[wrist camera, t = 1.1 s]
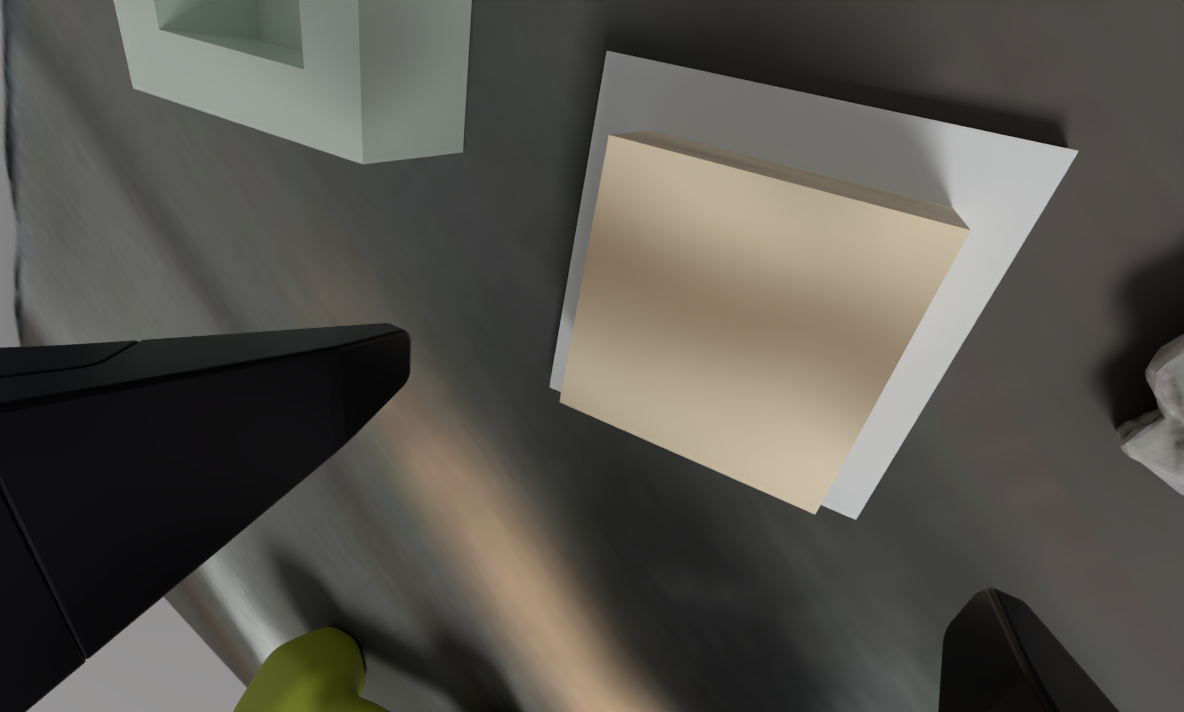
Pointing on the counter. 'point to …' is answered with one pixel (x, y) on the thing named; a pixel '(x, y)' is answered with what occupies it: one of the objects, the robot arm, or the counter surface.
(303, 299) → the counter surface
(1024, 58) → the counter surface
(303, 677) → the dumbbell
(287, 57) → the dish
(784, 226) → the lid
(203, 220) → the counter surface
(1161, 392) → the crumpled grey cloth
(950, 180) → the mat
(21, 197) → the counter surface
